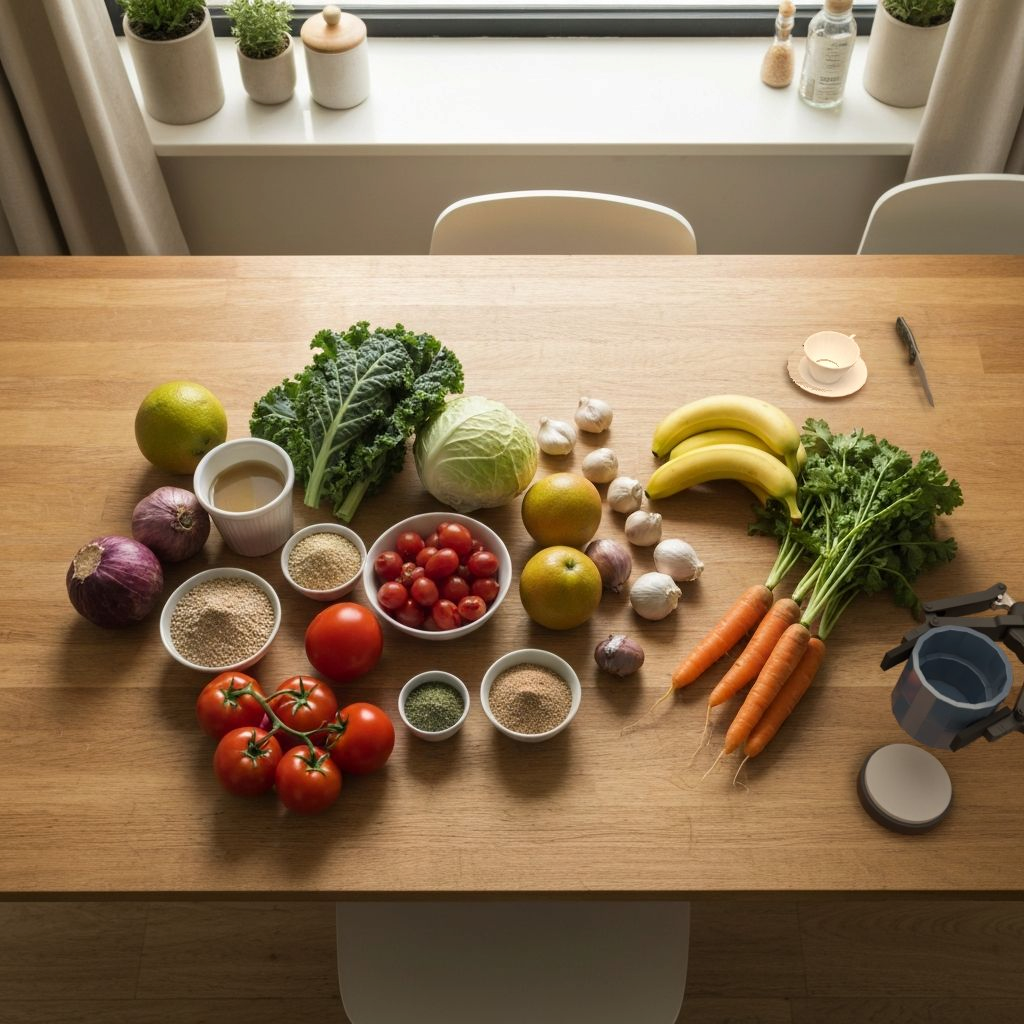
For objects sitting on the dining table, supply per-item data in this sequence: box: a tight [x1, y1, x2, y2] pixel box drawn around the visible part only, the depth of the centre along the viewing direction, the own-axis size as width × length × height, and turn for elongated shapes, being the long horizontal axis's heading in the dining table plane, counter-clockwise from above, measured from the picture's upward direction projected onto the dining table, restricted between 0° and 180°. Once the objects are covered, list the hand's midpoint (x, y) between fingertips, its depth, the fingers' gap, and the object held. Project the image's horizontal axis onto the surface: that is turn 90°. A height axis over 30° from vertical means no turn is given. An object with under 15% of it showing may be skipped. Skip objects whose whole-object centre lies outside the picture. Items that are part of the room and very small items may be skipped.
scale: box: [856, 743, 954, 836], centre depth 121 cm, size 10×10×3 cm
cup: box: [890, 625, 1014, 752], centre depth 111 cm, size 10×10×10 cm
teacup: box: [790, 330, 868, 398], centre depth 162 cm, size 12×12×5 cm
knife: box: [895, 316, 935, 409], centre depth 163 cm, size 20×1×3 cm, turn 1°
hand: (919, 701), depth 109 cm, fingers closed on cup, 10 cm apart
